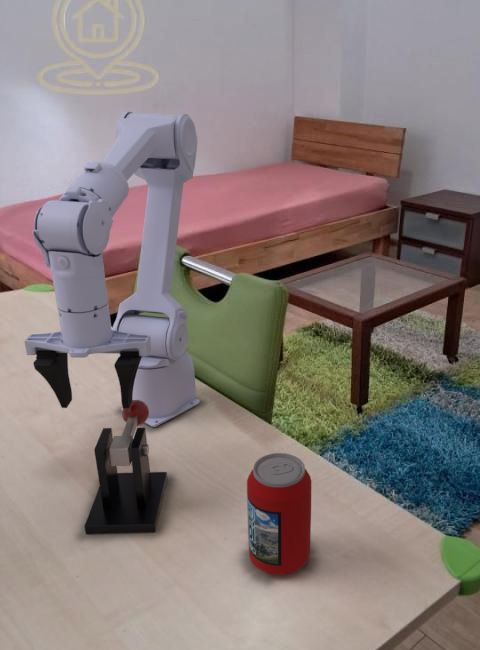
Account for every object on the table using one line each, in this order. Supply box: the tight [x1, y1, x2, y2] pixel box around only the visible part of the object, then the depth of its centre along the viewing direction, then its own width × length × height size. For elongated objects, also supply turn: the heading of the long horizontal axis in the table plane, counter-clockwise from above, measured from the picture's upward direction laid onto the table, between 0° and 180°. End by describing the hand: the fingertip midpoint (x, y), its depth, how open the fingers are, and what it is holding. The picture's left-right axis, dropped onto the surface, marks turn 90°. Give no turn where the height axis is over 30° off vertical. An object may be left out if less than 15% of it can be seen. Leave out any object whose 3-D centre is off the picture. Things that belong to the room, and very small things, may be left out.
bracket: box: [84, 427, 168, 535], centre depth 76 cm, size 10×8×10 cm
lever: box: [109, 400, 149, 467], centre depth 78 cm, size 12×3×3 cm, turn 3°
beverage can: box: [246, 452, 312, 576], centre depth 67 cm, size 7×7×12 cm
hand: (97, 404), depth 80 cm, fingers open, 7 cm apart
